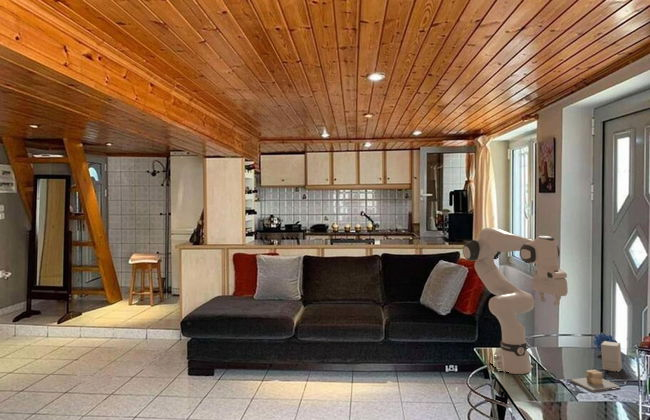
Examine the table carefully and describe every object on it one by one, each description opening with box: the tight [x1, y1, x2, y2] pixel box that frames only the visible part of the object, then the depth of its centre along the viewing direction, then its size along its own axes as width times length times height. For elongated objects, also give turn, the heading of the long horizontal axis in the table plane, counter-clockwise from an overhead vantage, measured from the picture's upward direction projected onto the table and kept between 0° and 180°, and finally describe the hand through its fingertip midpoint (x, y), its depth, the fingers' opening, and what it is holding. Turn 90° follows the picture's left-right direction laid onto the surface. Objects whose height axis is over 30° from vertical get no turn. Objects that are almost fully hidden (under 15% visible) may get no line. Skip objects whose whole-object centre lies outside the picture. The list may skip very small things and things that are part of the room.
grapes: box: [593, 332, 618, 352], centre depth 259 cm, size 12×7×12 cm, turn 61°
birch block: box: [585, 369, 603, 385], centre depth 219 cm, size 4×4×5 cm
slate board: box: [570, 377, 621, 393], centre depth 219 cm, size 14×14×1 cm
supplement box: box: [600, 341, 623, 373], centre depth 238 cm, size 7×7×13 cm
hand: (549, 303), depth 214 cm, fingers open, 8 cm apart
